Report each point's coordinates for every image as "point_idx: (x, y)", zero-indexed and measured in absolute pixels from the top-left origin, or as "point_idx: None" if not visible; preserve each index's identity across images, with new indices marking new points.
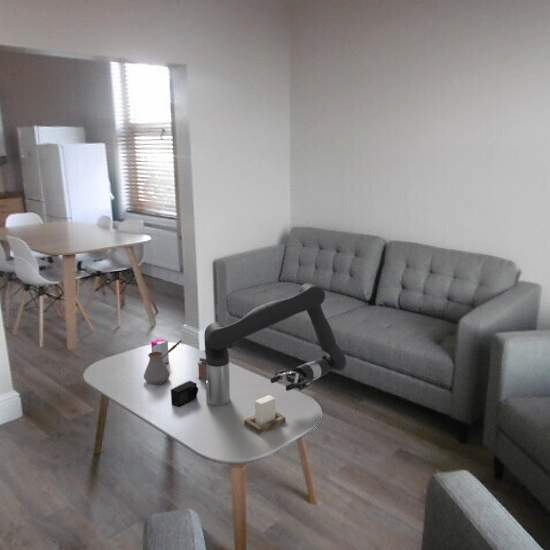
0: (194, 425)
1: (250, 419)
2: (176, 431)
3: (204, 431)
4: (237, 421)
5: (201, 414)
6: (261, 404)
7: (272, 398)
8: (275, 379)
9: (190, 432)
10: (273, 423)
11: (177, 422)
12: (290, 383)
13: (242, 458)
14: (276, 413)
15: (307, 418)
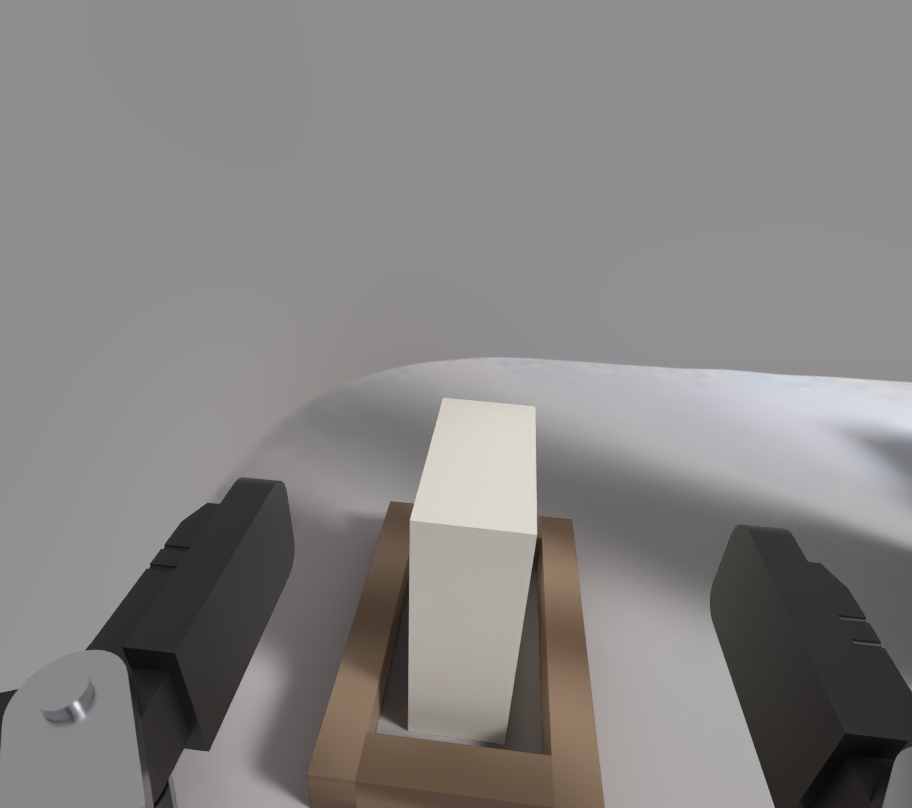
0: (731, 426)
1: (546, 545)
2: (717, 380)
3: (646, 420)
4: (638, 553)
5: (850, 492)
6: (442, 401)
7: (432, 499)
8: (760, 654)
9: (675, 396)
10: (357, 614)
11: (801, 409)
12: (219, 572)
13: (334, 389)
14: (447, 769)
15: None
